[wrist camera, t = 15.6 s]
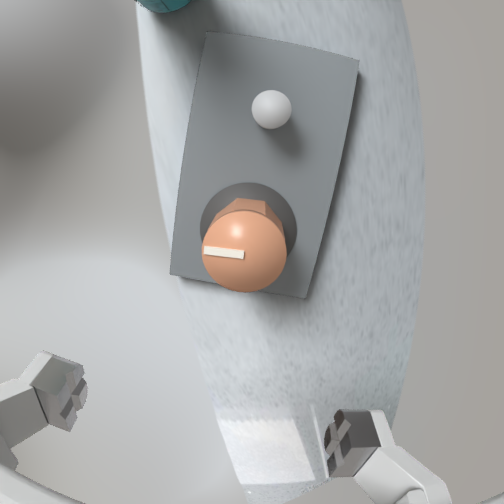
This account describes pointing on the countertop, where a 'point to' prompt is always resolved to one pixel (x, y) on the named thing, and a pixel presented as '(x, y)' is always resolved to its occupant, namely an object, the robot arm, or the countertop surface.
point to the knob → (245, 246)
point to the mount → (263, 146)
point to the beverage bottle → (163, 5)
